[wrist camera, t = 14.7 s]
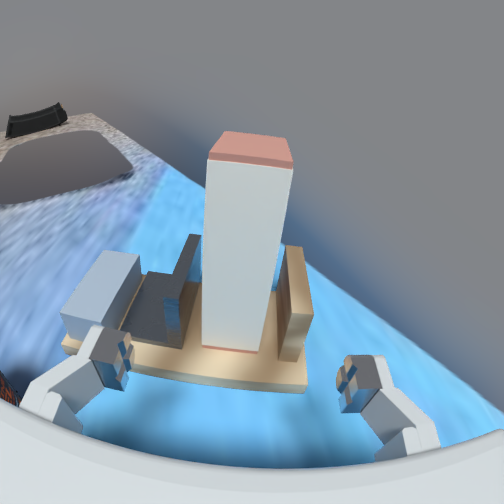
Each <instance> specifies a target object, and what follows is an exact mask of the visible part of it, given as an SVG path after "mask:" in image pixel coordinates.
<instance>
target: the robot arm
mask: <svg viewBox="0 0 504 504" xmlns="http://www.w3.org/2000/svg"><path fill="white" fill-rule="evenodd" d="M131 340H132V338H131V334H130V333H128V332H124V331H120V330H115V329H111V328H107V327H103V326H98V325H93V326H92V327H91V328H90V330H89V332H88V334H87V336H86V338H85V339H84V341H83V343H82V345H81V347H80V349H79V351H78V353H77V355H72V356H71V357H69V358H67V359H66V360H64V361H63V362H61V363H60V364H58V365H56V366H55V367H53V368H52V369H50V370H49V371H47V372H46V373H44V374H42V375H41V376H39V377H38V378H36V379H35V380H33V381H32V382H31V383H30V385H29V387H28V389H27V391H26V393H25V395H24V397H23V399H22V401H21V403H20V405H19V408H18V407H16V406H14V405H12V404H11V403H9V402H7V401H5V400H3V399H1V398H0V504H504V430H503V429H497V430H494V431H492V432H489V433H487V434H484V435H481V436H479V437H476V438H473V439H470V440H467V441H464V442H461V443H457V444H454V445H451V446H447V447H444V448H441V445H440V442H439V438H438V435H437V431H436V428H435V424H434V422H433V421H432V420H431V419H430V418H429V417H428V416H427V415H426V414H425V413H424V412H423V411H422V410H421V409H420V408H418V407H417V406H416V405H415V404H414V403H413V402H412V401H411V400H410V399H409V398H408V397H407V396H406V395H405V394H404V393H403V392H402V391H401V390H400V389H398V388H395V387H394V384H393V381H392V378H391V374H390V371H389V368H388V365H387V362H386V359H385V357H384V356H383V355H348V356H346V357H345V359H344V365H343V366H342V367H340V368H339V370H338V372H337V377H336V387H337V390H338V391H339V392H340V393H341V396H340V398H339V405H340V411H341V413H360V414H361V416H362V417H363V418H364V420H365V421H366V422H367V423H368V425H369V426H370V427H371V429H372V430H373V431H374V432H375V434H376V435H377V436H378V438H379V439H380V440H381V441H382V443H383V444H384V446H383V447H382V448H381V449H379V450H378V451H377V452H376V453H375V454H374V456H375V462H372V463H365V464H357V465H348V466H337V467H323V468H299V469H272V468H248V467H234V466H223V465H214V464H206V463H198V462H191V461H185V460H179V459H173V458H168V457H163V456H158V455H153V454H149V453H144V452H140V451H136V450H132V449H128V448H125V447H121V446H117V445H114V444H110V443H107V442H104V441H100V440H97V439H94V438H91V437H88V436H85V435H82V434H81V432H82V429H83V425H82V423H81V422H80V421H79V419H78V418H77V417H76V416H75V414H76V413H77V412H78V411H80V410H81V409H82V408H83V407H84V406H85V405H86V404H88V403H89V402H90V401H91V400H92V399H93V398H94V397H95V396H97V395H98V394H99V393H100V392H101V391H102V390H103V389H105V388H104V387H106V388H110V389H114V390H119V391H123V392H124V391H125V388H126V385H127V382H128V379H129V377H128V374H127V372H128V371H130V370H131V369H132V367H133V364H134V359H135V349H134V346H133V345H132V344H131V343H130V342H131Z"/></svg>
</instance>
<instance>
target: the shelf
mask: <svg viewBox="0 0 504 504" xmlns="http://www.w3.org/2000/svg"><path fill="white" fill-rule="evenodd" d="M145 277H146V275H143V274H142V281H141V283H140V285H139V287H138V289H137V291H136V293H135V295H134V297H133V299H132V301H131V303H130V305H129V307H128V309H127V311H126V314H125V316H124V318H123V320H122V322H121V324H120V326H119V328H118V330H120V328H121V326H122V324H123V321H124V319H125V317H126V315H127V313H128V311H129V309H130V307H131V305H132V303H133V301H134V299H135V297H136V295H137V293H138V291H139V289H140V287H141V285H142V283H143V281H144V279H145ZM313 316H314V312H313V306H312V300H311V294H310V288H309V282H308V276H307V271H306V265H305V260H304V254H303V249H302V247H296V246H288V245H286V246H285V251H284V256H283V261H282V266H281V270H280V275H279V280H278V285H277V289H276V291H271V292H270V297H269V302H268V307H267V312H266V317H265V321H264V326H263V331H262V336H261V341H260V345H259V350H258V351H257V354H250V353H241V352H232V351H224V350H216V349H209V348H202V283H200V285H199V288H198V292H197V296H196V299H195V303H194V306H193V310H192V314H191V317H190V321H189V325H188V329H187V332H186V336H185V340H184V344H183V348H182V350H180V349H174V348H168V347H163V346H157V345H152V344H146V343H141V342H136V341H131V342H130V343H131V344H132V345H133V346H134V349H135V359H134V364H133V367H132V369H131V370H130V371H132V372H136V373H141V374H146V375H151V376H156V377H161V378H166V379H171V380H177V381H183V382H189V383H196V384H202V385H210V386H217V387H225V388H234V389H244V390H254V391H267V392H282V393H304V392H305V390H306V388H307V386H308V379H307V369H306V358H305V348H304V341H305V339H306V336H307V333H308V330H309V327H310V325H311V322H312V319H313ZM82 343H83V342H82V341H78V340H75V339H71V338H70V337H69V335H68V333H67V334H66V336H65V338H64V340H63V341H62V343H61V345H62V347H63V349H64V351H65V353H66V354H68V355H77V353H78V351H79V349H80V347H81V345H82Z"/></svg>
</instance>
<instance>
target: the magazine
mask: <svg viewBox="0 0 504 504" xmlns="http://www.w3.org/2000/svg"><path fill="white" fill-rule="evenodd" d="M67 119H68V117H67V114H66V112H65V110H64V108H63V106H62V104H61V105H60V103H59V102H58V103H57V104H56V105H53V106H51V107H49V108H46V109H43V110H41V111H37V112H33V113H29V114H24V115H19V116H11V115H10V116H9V121H8V126H7V131H6V136H5V138H7V137H14V136H21V135H27V134H31V133H35V132H39V131H42V130H45V129H49V128H52V127H54V126H57V125H59V126H60V124H61V123H63V122H65V121H66V120H67Z"/></svg>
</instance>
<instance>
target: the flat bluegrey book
mask: <svg viewBox="0 0 504 504" xmlns="http://www.w3.org/2000/svg"><path fill="white" fill-rule="evenodd" d="M141 281H142V274H141V265H140V256H139V255H137V254H130V253H122V252H115V251H108V250H104V251H103V252H102V253H101V255H100V256H99V257H98V259H97V260H96V261H95V263H94V264H93V265H92V267H91V268H90V269H89V271H88V272H87V273H86V275H85V276H84V278H83V279H82V280H81V282H80V283H79V285H78V286H77V287H76V289H75V290H74V292H73V293H72V295H71V296H70V298H69V299H68V300H67V302H66V303H65V305H64V306H63V308H62V309H61V311H60V315H61V318H62V320H63V323H64V325H65V327H66V330H67V332H68V335H69V337H70V338H71V339H75V340H78V341H82V342H83V341H84V339H85V338H86V336H87V334H88V332H89V330H90V328H91V327H92V326H93V325H98V326H103V327H107V328H111V329H115V330H118V328H119V326H120V324H121V322H122V320H123V318H124V316H125V314H126V311H127V309H128V307H129V305H130V303H131V301H132V299H133V297H134V295H135V293H136V291H137V289H138V287H139V285H140V283H141Z"/></svg>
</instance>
